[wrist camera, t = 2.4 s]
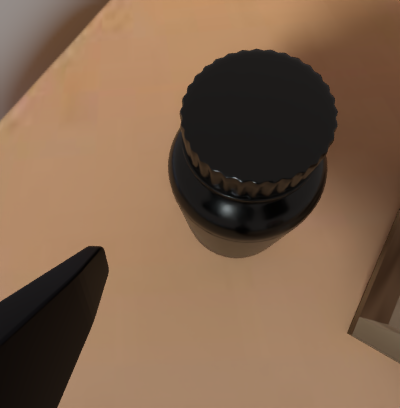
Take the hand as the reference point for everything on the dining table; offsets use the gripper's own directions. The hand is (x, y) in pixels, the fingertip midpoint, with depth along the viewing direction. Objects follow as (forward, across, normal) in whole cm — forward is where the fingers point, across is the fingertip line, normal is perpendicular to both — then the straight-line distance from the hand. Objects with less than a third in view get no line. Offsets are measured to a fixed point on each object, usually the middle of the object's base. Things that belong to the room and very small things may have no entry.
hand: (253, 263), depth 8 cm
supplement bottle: (+11, 0, +5) cm, 12 cm away
